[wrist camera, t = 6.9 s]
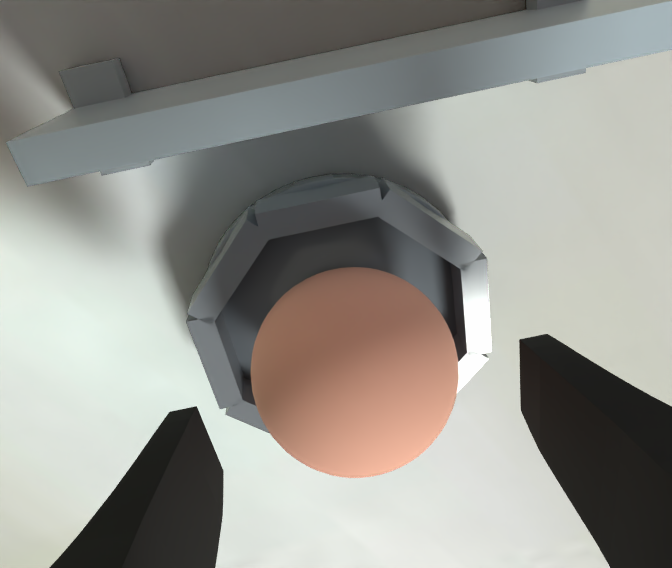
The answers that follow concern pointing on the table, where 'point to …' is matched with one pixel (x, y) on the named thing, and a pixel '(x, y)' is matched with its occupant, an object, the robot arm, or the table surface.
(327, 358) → the ball
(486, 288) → the slate dish
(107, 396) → the table surface
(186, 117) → the divider wall
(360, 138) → the table surface
